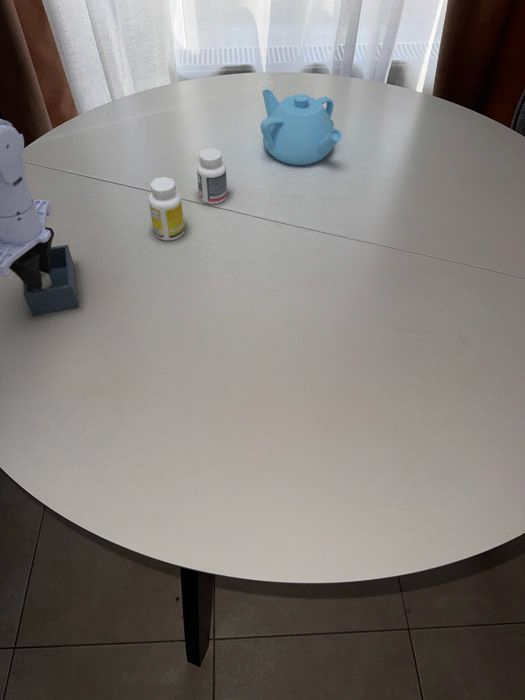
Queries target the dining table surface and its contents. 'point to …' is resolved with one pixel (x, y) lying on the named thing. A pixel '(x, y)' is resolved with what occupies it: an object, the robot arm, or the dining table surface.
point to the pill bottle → (211, 176)
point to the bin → (55, 285)
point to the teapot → (298, 128)
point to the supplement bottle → (166, 209)
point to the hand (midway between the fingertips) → (39, 280)
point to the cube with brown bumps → (44, 281)
